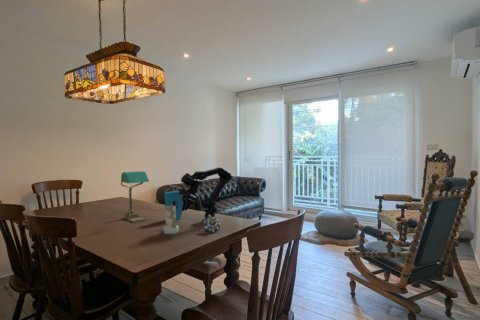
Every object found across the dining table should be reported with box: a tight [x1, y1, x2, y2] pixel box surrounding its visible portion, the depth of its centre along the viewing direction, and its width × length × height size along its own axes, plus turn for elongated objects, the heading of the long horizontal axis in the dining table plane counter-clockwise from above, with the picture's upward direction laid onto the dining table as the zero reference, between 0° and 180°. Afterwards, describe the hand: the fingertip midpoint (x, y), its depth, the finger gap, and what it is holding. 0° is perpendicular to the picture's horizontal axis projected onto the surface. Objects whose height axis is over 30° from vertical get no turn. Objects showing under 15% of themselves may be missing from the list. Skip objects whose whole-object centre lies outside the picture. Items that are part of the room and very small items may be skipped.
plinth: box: [163, 225, 180, 235], centre depth 166 cm, size 9×9×3 cm
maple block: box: [164, 205, 177, 229], centre depth 166 cm, size 5×5×13 cm
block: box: [164, 190, 183, 221], centre depth 195 cm, size 12×5×20 cm, turn 124°
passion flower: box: [201, 215, 222, 233], centre depth 168 cm, size 11×11×12 cm
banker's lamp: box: [120, 170, 150, 224], centre depth 196 cm, size 16×21×35 cm
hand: (183, 210), depth 175 cm, fingers open, 9 cm apart
